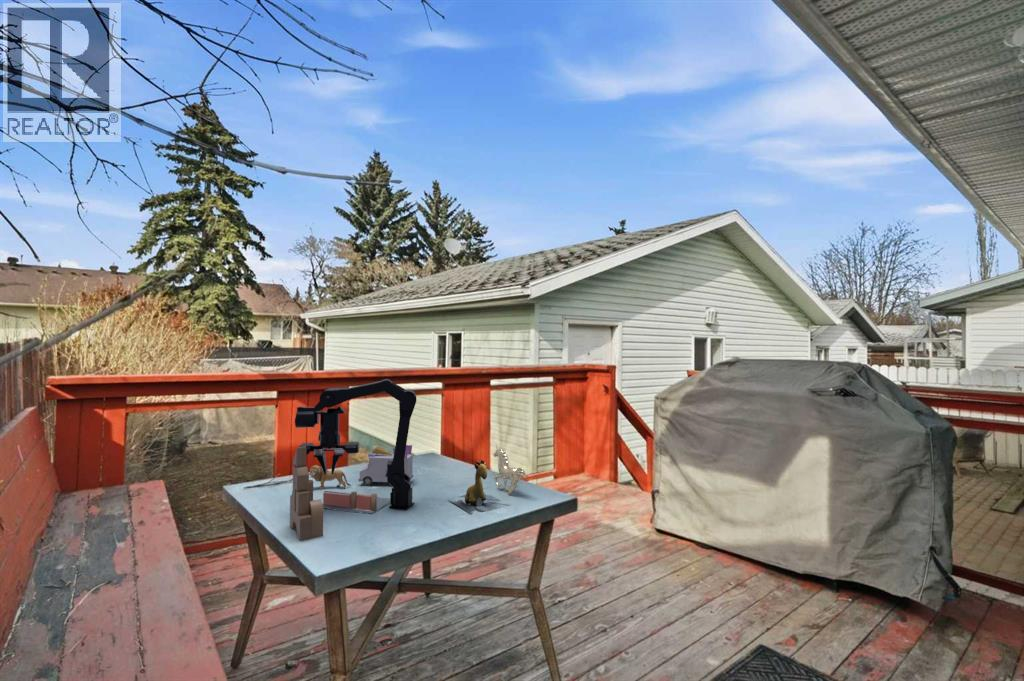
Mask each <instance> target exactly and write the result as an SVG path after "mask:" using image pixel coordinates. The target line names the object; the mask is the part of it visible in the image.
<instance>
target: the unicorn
mask: <svg viewBox="0 0 1024 681" xmlns="http://www.w3.org/2000/svg"><path fill="white" fill-rule="evenodd" d="M495 448H496V450H495V452H493V457H494V458H496V457H498V458H497V461H498V462H497V470H498V475H495V476H494V477H493V479H494V482H495V484H496V487H498V488H502V487H503V485H504V488H505V489H506V491H507V495H509V496H510V495H511V494H512V493H513V492H514V491H515V489H516V488H518V487H519V481H520V478H524V479H526V478H527V474H526V471H525V470H524V468H523V467H510V465H509V463H510V461H509V458H508V455H507V454H506V451H504V449H502V447H501V446H500V447H499V448H498V445H497V444H495ZM501 478H503V479H502V480H503V485H502V484H500V482H499V479H501ZM508 480H509V481H510V487H509V485H508Z"/></svg>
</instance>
